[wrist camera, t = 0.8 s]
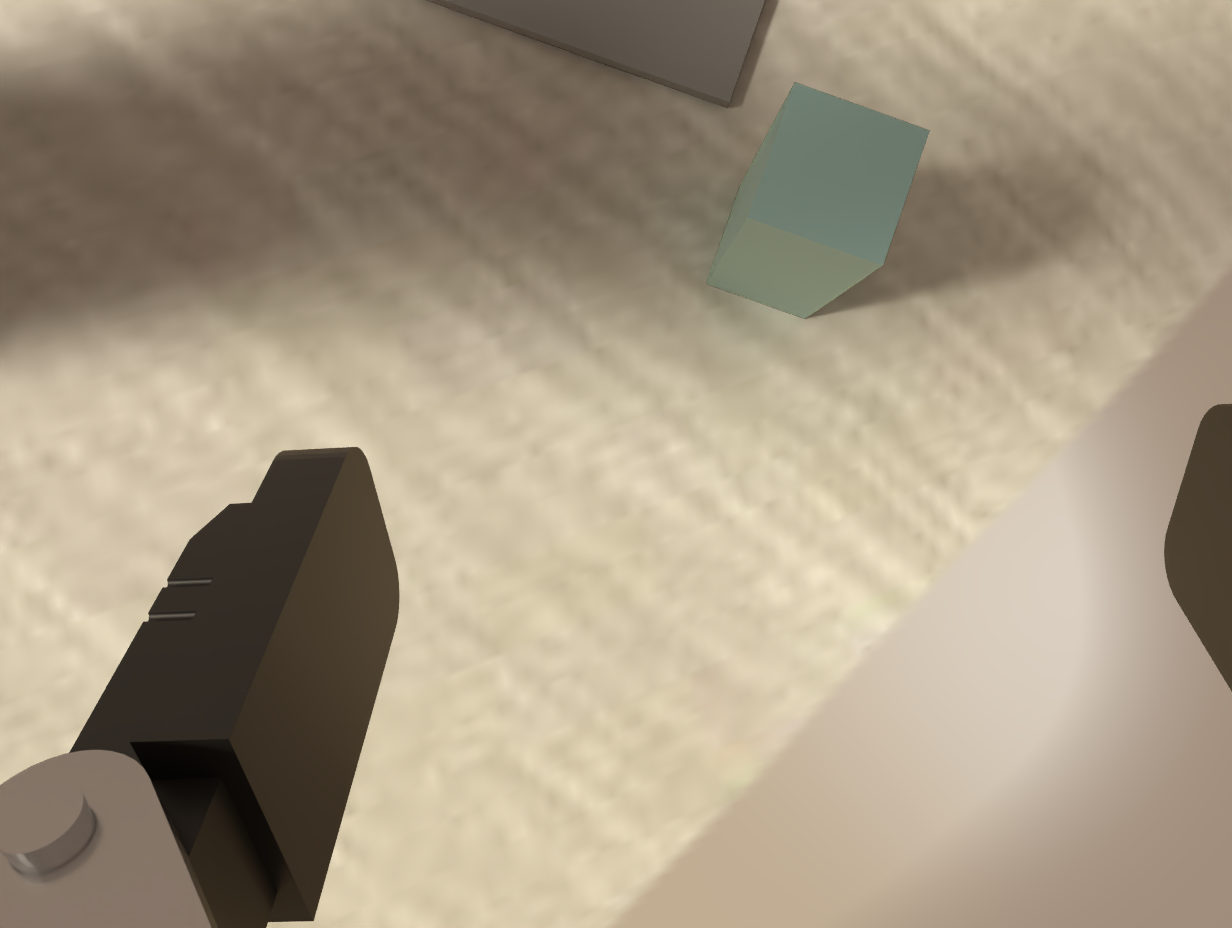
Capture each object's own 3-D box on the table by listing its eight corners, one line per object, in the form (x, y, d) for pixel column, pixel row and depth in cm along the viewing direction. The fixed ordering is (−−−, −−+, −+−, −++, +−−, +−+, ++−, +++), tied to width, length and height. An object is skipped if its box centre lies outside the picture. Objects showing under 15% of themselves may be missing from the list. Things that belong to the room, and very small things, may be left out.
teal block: (706, 283, 34) (747, 217, 25) (740, 184, 34) (794, 82, 25) (805, 319, 34) (883, 265, 25) (839, 219, 34) (929, 130, 25)
